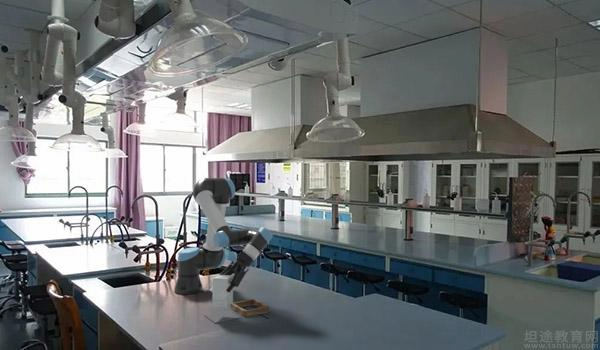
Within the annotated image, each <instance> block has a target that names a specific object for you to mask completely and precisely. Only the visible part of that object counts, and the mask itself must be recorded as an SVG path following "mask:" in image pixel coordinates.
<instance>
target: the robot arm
mask: <svg viewBox="0 0 600 350" xmlns="http://www.w3.org/2000/svg"><path fill="white" fill-rule="evenodd" d="M195 183H196V184H194V186H193V190H192V191H193V192H192V196H193V199H194V201H195V202H196V203H197V205H199V206H200V208H201V209H202V211H203V213H204V215H205V217H206V219H207V221H208V223H207V232H206V236H205V237H206V238H205V242H204V243H203V244H202V248H201V249H200V247H196V246H195V247H187V248H183V249H181V250H180V251H179V252H178V256H177V279H176V282H175V285H174V288H173V289H174V290H173V291H174V293H175V292H176V293H175V294H179V295H191V294H192V295H193V294H194V295H195V294H197V293H201V292H203V283H202V281H201V277H200V271H205V270H212V269H213V270H214V269H217V268H218V269H220V268H222V266H224V265H225V262H226V257H227V255H226V250H225V248H229V247H235V246H236V247H237V246H244V247H243V249H242V251H240V253H238V255H237V257H236V259H237V260H236V261H234V260H232V261H231V262H230V264H229V265H227V267H225V268H224V269H223V270H222V271H221V272H220V273H219V274H218V275H232V276H233V278H232V281H231V282H229V283H230V284H228V285H227V286H226V288H225V289H224V290H223V291H222V293H221V294H220V295H219V296H221V297H222V298H223V299H225V297H226V296H227V295H228V294H229V292H230V291H231V290H232V289H233V290H234V288H236V287H237V288H238V287H239V286H240V284H241V282H242V280H243V279H244V278H245V276H246V274H247V273H248V271H249V270H250V269H249V268H250V267H251V265H252V264H253V263H254V261H255V260H256V259H257V258H258V257H259V256H260V254H261V253H262V251H264V249H266V247H267V245H269V244H270V241H271V240H272V238H273V233H272V231H270V229H267V228H266V227H264V226H262V227H260V228H259V229H258V230H254V229H251V228H249V227H244V228H241V229H235V230H233V229H231V227H230V226H229V224H228V222H227V220H226V219H225V216H226V209H227V205H229V204H230V200H232V199H233V198H234V197H235V195H236V187H235V184H234V182H233V180H232V179H231V178H225V177H204V178H201V179H199V180H198V181H197V182H195ZM209 291H210V292H211V293H212V294H213V286H211V288H210V289H209Z"/></svg>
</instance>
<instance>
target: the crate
mask: <svg viewBox="0 0 600 350" xmlns="http://www.w3.org/2000/svg"><path fill="white" fill-rule="evenodd" d="M229 306H230V310H232V311H234V312H236V313H237V314H238V315H241V316H242V317H244V318H248V317H253V316H256V315H257V316H258V315H262V314H267V313H270V306H269V305H267V304H265V303H263V302H261V301H259V300H257V299H255V298H251V299H247V300H240V301H236V302H233V303H231V304H230V305H229ZM248 306H249V307H250V306H255V307H256V308H252V309H244V307H248Z"/></svg>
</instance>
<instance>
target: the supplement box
mask: <svg viewBox="0 0 600 350" xmlns="http://www.w3.org/2000/svg"><path fill="white" fill-rule="evenodd" d="M233 276H234V275H233V274H232V275H219V274H218V275H216V276H214V277H213V278H212V287H213V293H212V299H211V300H212V301H211V303H212V307H218V308H219V307H222V308H228V307H229V306H230V304H231V303H234V288H233V289H232V290H231V291H230V292H229V294H228V295H227V296H226V297H225V299H223V298H222V297H221V296H219V295H220V294H221V293H222V291H223V290H224V289H225V288H226V286H227V285H228V284H230V283H229V282H231V281H232V278H233Z"/></svg>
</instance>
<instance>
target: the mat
mask: <svg viewBox="0 0 600 350" xmlns="http://www.w3.org/2000/svg"><path fill="white" fill-rule="evenodd" d="M203 316H204V317H206V318H207V319H208V320H209V321H211V322H212V323H214V324H220V323H225V322H228V321H233V320H238V319H240V318H241V317H240V316H238V315H237V314H235V313H233V312H232V311H230V310H224V311H217V312H213V313H207V314H204V315H203Z"/></svg>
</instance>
